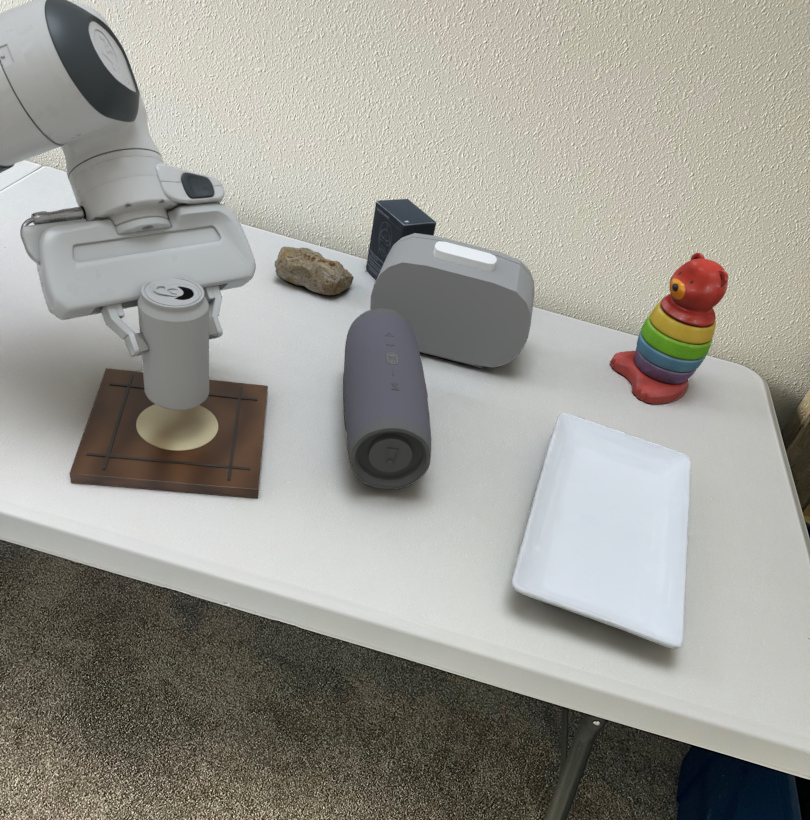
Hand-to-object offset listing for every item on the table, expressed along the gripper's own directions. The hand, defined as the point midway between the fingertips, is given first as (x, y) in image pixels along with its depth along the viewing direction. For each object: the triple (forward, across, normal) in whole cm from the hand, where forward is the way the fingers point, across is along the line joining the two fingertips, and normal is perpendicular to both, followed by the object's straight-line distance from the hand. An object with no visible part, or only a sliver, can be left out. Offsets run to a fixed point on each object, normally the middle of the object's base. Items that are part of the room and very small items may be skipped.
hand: (178, 345), depth 76 cm
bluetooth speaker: (+14, +20, +2) cm, 25 cm away
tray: (+32, +33, -15) cm, 48 cm away
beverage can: (+4, 0, +5) cm, 7 cm away
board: (+8, 0, +8) cm, 11 cm away
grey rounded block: (+6, +40, +11) cm, 42 cm away
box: (-6, +44, +23) cm, 50 cm away
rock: (-8, +32, +25) cm, 41 cm away
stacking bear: (+19, +64, -2) cm, 67 cm away
